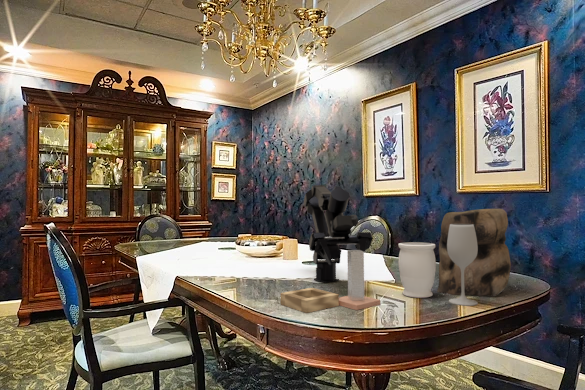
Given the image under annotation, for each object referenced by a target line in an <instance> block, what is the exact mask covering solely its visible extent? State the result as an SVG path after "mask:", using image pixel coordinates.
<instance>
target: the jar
mask: <svg viewBox="0 0 585 390" xmlns="http://www.w3.org/2000/svg"><path fill="white" fill-rule="evenodd" d="M398 248H399V249H400V250H399V254H398V272H399V275H400V276H399V277H400V281H401V285H402V287H403V291H402V294H403V296H406V297H409V298H410V297H411V298H416V299H417V298H419V299H423V298H424V299H425V298H429V297H432V296H433V295H434V294H433V292H432V288H433V286H434V284H435V277H436V269H437V259H436V255H435V251H434V249H435V248H436V244H435V243H431V242H421V241H420V242H419V241H417V242H416V241H413V242H411V241H410V242H409V241H408V242H400V243H398Z"/></svg>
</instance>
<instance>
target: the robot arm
mask: <svg viewBox="0 0 585 390" xmlns="http://www.w3.org/2000/svg"><path fill="white" fill-rule="evenodd" d="M303 198H304V199H303V206H304V207H305V209H306V212H307V214H308V213H309V215H311V216H312V221H313V224H314V229H315V232H312V233H311V234H310V237H309V243H308V246H309V250H310V251H311V252H313V256H312V259H313V261H312V262H313V263H314V264H315V265H316V268H315V277H316V278H314V279H313V281H317V282H321V283H332V282H337V281H338V282H339V281H340V278H337V264H340V263H341V255H342V249H341V247H340V246H341V245H345V246H346V245H354V246H355V250H361V251H364V252H366V250H367V251H368V250H369V249H370V247H371V244H372V241H373V239H374V237H373V234H372V233H371V231H370V232H369V231H357V232H358V233H357V235H356V236H355V237H353V236H351V237H350V235H351V234H352V230H351V229H352V228H354V227H357V226H358V225H359V219H358V216H357V214H350V215H344V213H345V212H346V210H347V206H348V203H349V200H350V193H349V192H348V191H347V190H345V189H344V188H342V186H338V185H337V186H334V188H333V189H332V190H331V191H330V190H329V189H328V188H327V187H326V185H324V184H318V185H317V184H314V185H312V186H311V188H310V189H309V190H307V192H306V193H305V194H304V197H303Z"/></svg>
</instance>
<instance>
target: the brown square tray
mask: <svg viewBox="0 0 585 390" xmlns="http://www.w3.org/2000/svg"><path fill="white" fill-rule="evenodd" d="M339 295H340V294H339V293H334V292H331V291H327V290H323V289H319V288H316V287H307V288H302V289H297V290H290V291H283V292H280V305H282V306H284V307H287V308H290V309H293V310H297V311H299V312H302V313H305V314H308V313H313V312H317V311H318V312H319V311H322V310H325V309H326V308H327V309H330V308H335V307H339V306H340V305H339V297H340V296H339Z"/></svg>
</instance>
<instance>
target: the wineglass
mask: <svg viewBox="0 0 585 390" xmlns="http://www.w3.org/2000/svg"><path fill="white" fill-rule="evenodd" d="M447 251H448V255H449V257H450V258H451V260H452V261H453V262H454V263H455V264H456V265H458V266H459V267H460V269H461V289H462V292H461V295H459V297H458V298H457V297H455V298H450V299H449V300H448V302H449V304H453V305H457V306H462V307H463V306H466V307H470V306H471V307H472V306H477V305H478V304H479V302H478V301H476V300H475V299H470V298H468V297H467V295H465V293H464V270H465V268H466V267H467V266H468V265H469V264H470V263H472V262H473V261H474V259H475V258H476V256H477V252H478V245H477V238H476V232H475V228H474V225H473V224H450V227H449V232H448V240H447Z"/></svg>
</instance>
